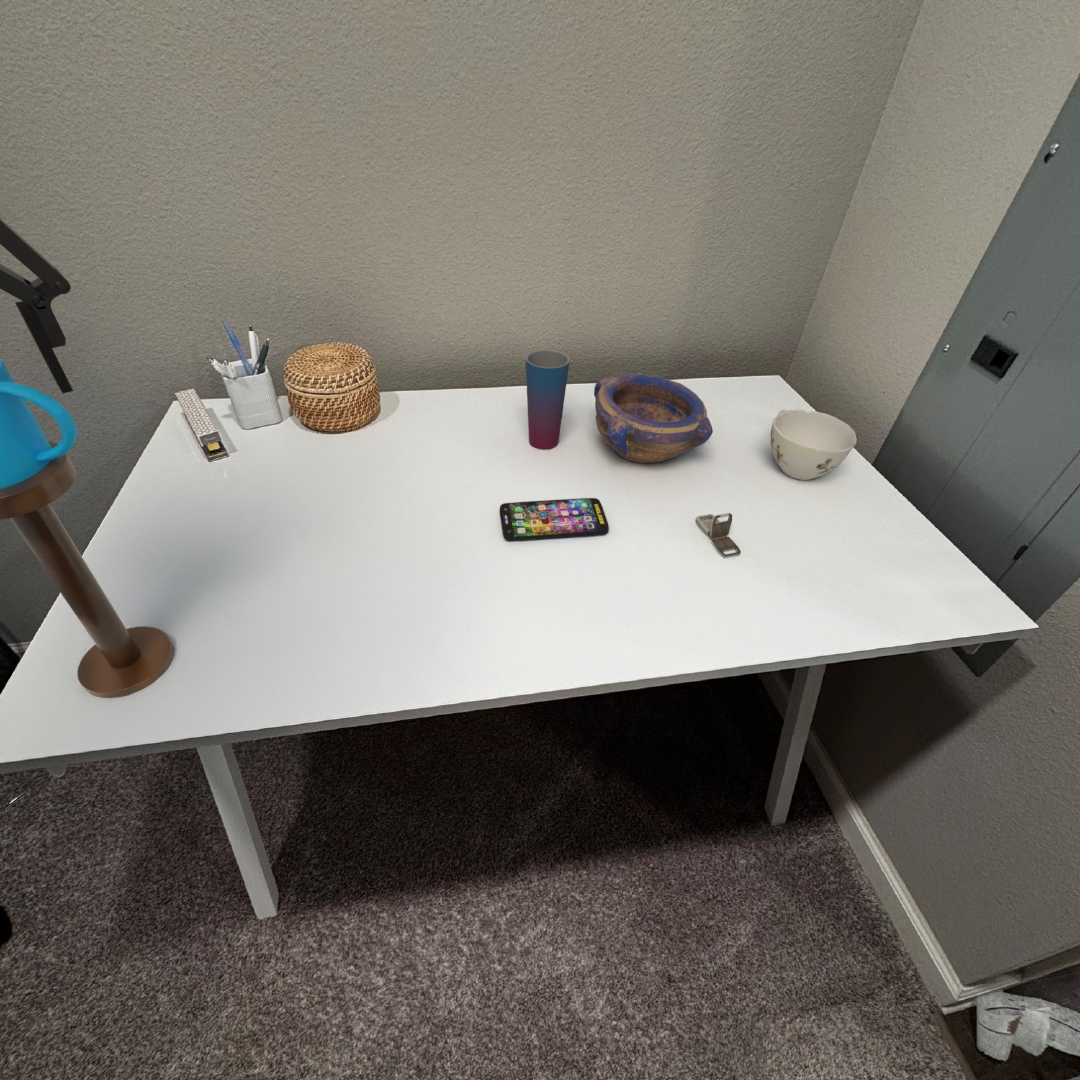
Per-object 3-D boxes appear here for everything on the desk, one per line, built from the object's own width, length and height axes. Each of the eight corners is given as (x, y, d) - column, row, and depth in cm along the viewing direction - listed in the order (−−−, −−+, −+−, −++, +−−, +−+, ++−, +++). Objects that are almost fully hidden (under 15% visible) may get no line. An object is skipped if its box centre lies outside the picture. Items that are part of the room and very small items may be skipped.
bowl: (709, 479, 99) (724, 424, 92) (597, 479, 98) (604, 424, 91) (684, 421, 112) (695, 369, 106) (585, 420, 111) (590, 368, 105)
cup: (515, 439, 106) (516, 356, 96) (544, 426, 109) (548, 344, 99) (542, 457, 102) (546, 372, 92) (571, 443, 105) (578, 359, 96)
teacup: (855, 488, 99) (875, 445, 93) (786, 498, 96) (802, 454, 91) (802, 438, 109) (817, 397, 104) (738, 445, 107) (750, 404, 101)
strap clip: (693, 520, 91) (699, 497, 88) (711, 517, 92) (717, 494, 89) (722, 559, 85) (730, 535, 82) (742, 555, 86) (750, 532, 83)
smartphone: (498, 502, 91) (599, 496, 93) (498, 507, 91) (598, 501, 93) (503, 537, 85) (611, 530, 87) (503, 543, 86) (610, 536, 87)
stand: (93, 713, 64) (-59, 517, 47) (72, 658, 69) (-72, 463, 52) (185, 668, 68) (77, 474, 51) (159, 619, 73) (53, 428, 56)
